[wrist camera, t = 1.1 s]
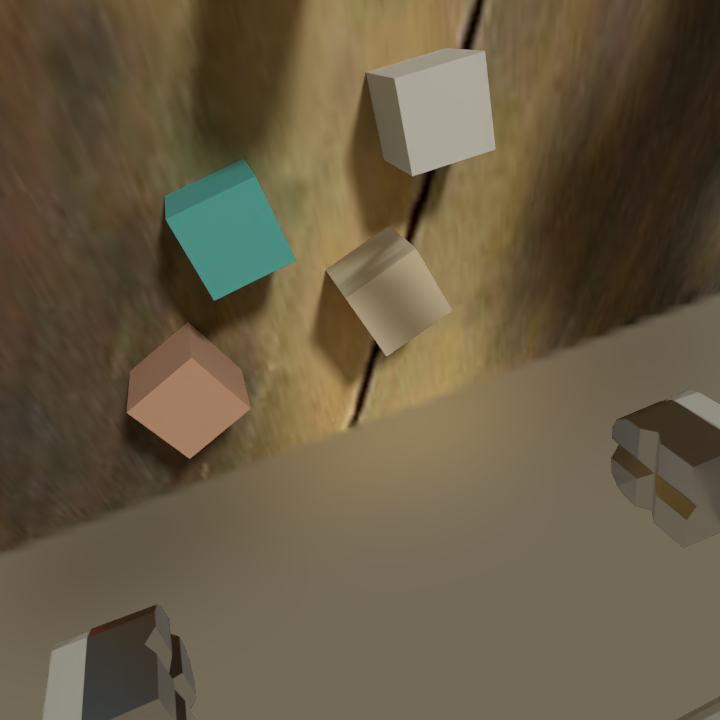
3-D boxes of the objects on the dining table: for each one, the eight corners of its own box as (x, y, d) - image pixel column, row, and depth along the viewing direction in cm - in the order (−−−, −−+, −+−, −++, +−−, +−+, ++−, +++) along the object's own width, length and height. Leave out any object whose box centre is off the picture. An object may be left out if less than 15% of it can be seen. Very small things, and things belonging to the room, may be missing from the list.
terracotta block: (187, 321, 38) (191, 357, 34) (241, 369, 41) (250, 408, 37) (130, 370, 38) (126, 412, 34) (186, 414, 41) (189, 458, 37)
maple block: (388, 224, 39) (415, 248, 35) (422, 282, 42) (452, 310, 37) (325, 269, 39) (345, 298, 35) (363, 323, 42) (386, 356, 38)
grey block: (445, 48, 35) (484, 51, 30) (457, 135, 37) (495, 149, 33) (365, 72, 34) (394, 78, 30) (383, 159, 37) (412, 176, 33)
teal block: (243, 157, 34) (255, 175, 30) (280, 234, 37) (296, 260, 33) (164, 195, 34) (165, 219, 30) (207, 269, 37) (214, 300, 33)
